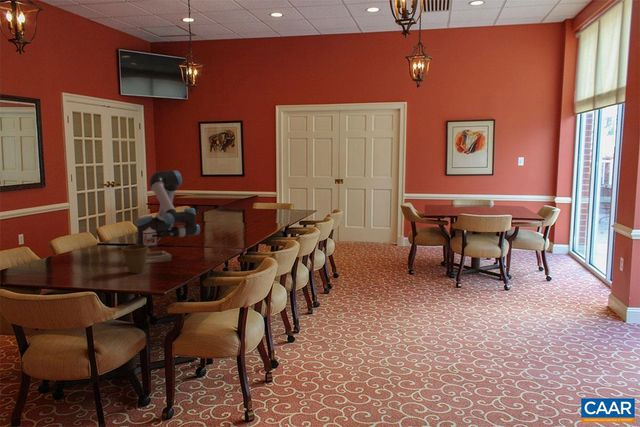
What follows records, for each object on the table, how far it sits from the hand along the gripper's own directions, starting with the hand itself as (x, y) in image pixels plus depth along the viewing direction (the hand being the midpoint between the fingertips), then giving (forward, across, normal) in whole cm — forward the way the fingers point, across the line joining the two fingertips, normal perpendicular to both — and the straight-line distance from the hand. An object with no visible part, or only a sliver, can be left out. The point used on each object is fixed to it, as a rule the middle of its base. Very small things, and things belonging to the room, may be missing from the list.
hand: (145, 235), depth 332 cm
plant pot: (+14, -26, -18) cm, 34 cm away
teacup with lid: (-4, -1, -7) cm, 8 cm away
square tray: (-4, 0, -18) cm, 18 cm away
